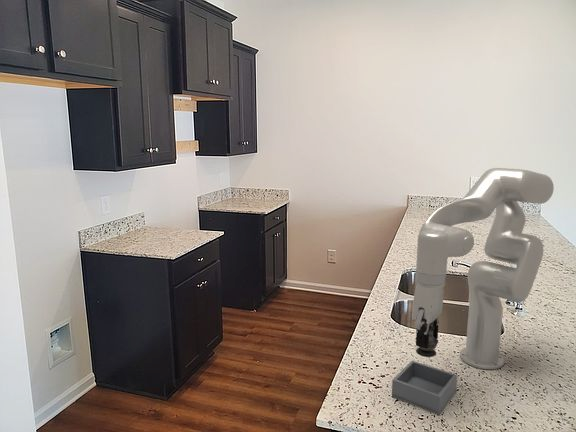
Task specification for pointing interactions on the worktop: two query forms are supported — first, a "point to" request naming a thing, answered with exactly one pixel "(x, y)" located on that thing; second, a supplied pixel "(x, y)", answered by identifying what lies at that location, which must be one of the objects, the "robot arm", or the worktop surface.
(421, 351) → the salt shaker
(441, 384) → the bin
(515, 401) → the worktop surface
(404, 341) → the worktop surface
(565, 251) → the worktop surface
